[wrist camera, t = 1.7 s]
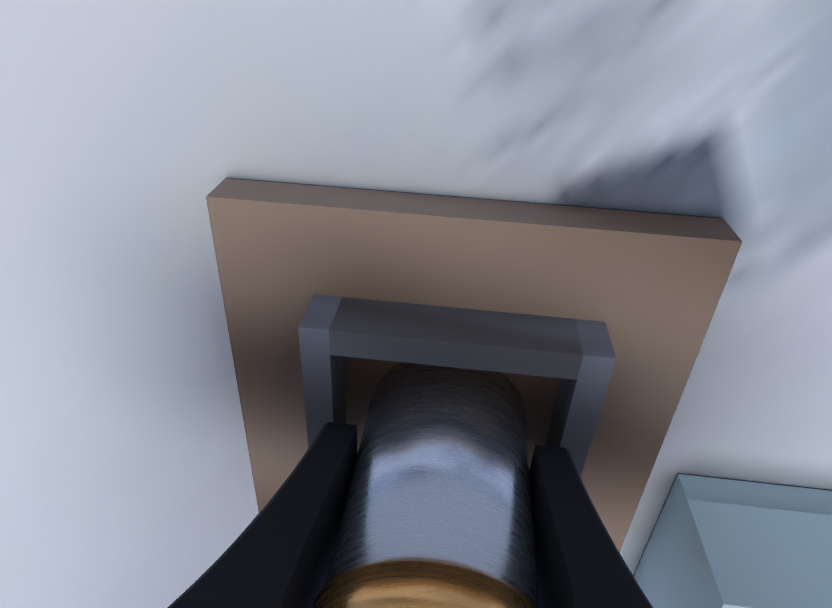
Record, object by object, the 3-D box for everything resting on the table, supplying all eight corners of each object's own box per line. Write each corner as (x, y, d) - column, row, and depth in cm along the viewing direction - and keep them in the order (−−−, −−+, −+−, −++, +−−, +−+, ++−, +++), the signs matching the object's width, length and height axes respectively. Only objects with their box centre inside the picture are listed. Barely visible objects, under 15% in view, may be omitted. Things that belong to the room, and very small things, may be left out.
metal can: (516, 478, 14) (532, 770, 9) (366, 461, 15) (303, 738, 10) (541, 359, 12) (579, 652, 7) (366, 341, 12) (284, 614, 7)
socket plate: (607, 534, 17) (622, 608, 15) (271, 494, 17) (246, 561, 15) (722, 218, 11) (769, 274, 9) (226, 177, 12) (177, 222, 10)
